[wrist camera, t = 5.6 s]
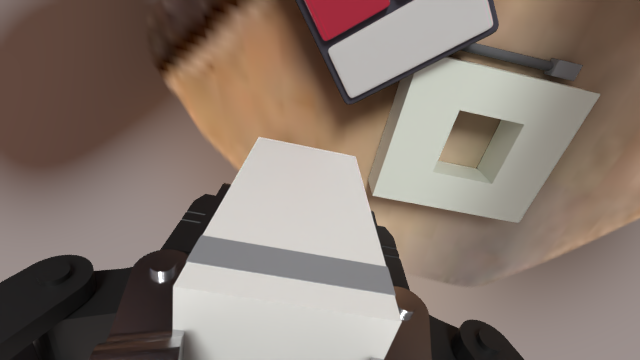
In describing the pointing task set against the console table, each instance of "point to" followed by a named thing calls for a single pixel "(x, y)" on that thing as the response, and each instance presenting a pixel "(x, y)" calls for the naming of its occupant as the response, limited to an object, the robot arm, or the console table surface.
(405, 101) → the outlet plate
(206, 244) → the white rectangular block
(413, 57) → the dark grey product box
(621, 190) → the console table surface
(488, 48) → the cable
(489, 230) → the console table surface
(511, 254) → the console table surface
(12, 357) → the robot arm
